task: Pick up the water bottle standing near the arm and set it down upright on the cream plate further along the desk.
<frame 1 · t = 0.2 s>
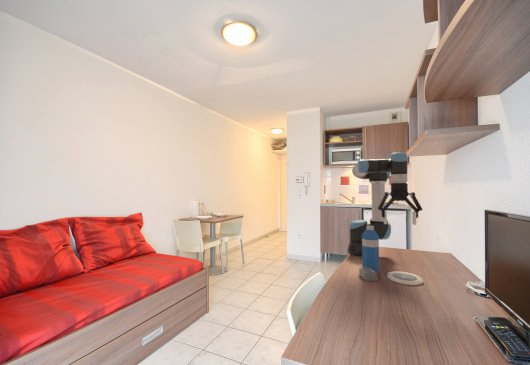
hand: (399, 224, 123), 28 cm above the table, fingers open, 13 cm apart
water bottle: (370, 270, 137), on the table
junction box: (367, 277, 125), on the table
cream plate: (404, 279, 123), on the table
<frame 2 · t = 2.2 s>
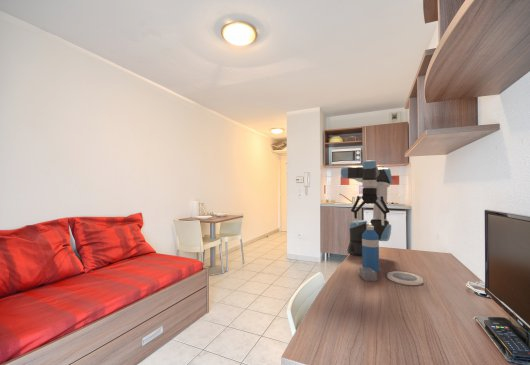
hand: (369, 224, 137), 26 cm above the table, fingers open, 13 cm apart
nothing on the table moved.
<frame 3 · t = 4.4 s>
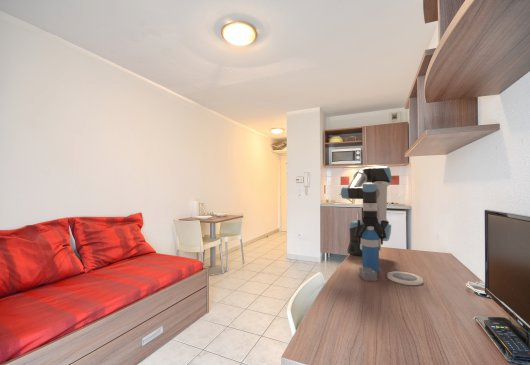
hand: (370, 249, 137), 12 cm above the table, fingers closed on water bottle, 9 cm apart
water bottle: (370, 270, 137), on the table, touching gripper
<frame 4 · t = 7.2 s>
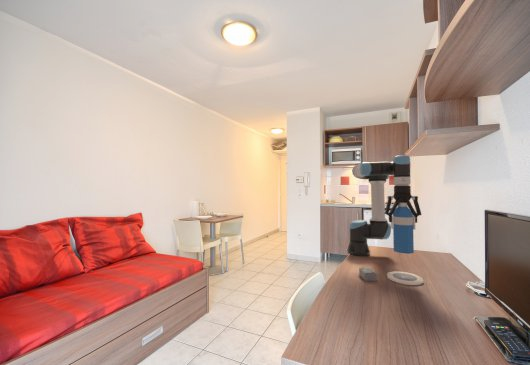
hand: (402, 228, 124), 26 cm above the table, fingers closed on water bottle, 9 cm apart
water bottle: (403, 251, 123), point 14 cm above the table, touching gripper
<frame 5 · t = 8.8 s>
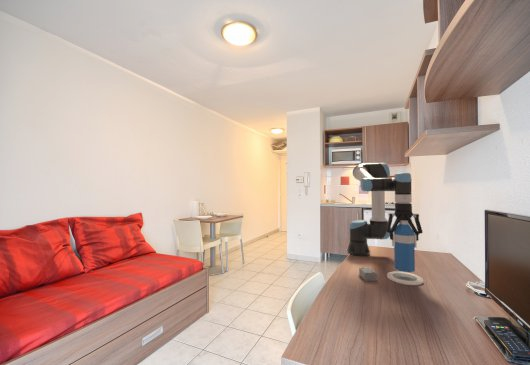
hand: (404, 246, 123), 17 cm above the table, fingers closed on water bottle, 9 cm apart
water bottle: (404, 269, 123), point 5 cm above the table, touching gripper
when the fingers open (14 cm above the table, at t = 10.3 s): water bottle drops 1 cm, resting on cream plate.
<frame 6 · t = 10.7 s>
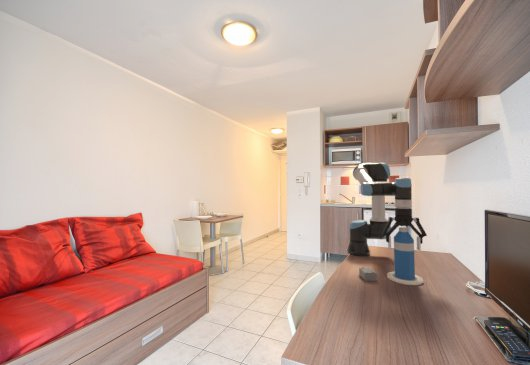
hand: (404, 249, 123), 15 cm above the table, fingers open, 13 cm apart
water bottle: (404, 276, 123), point 1 cm above the table, touching cream plate
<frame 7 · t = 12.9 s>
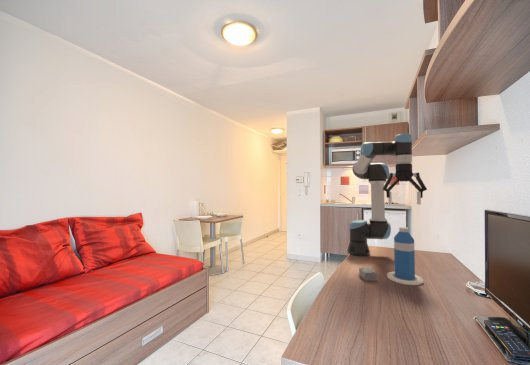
hand: (404, 204, 125), 38 cm above the table, fingers open, 13 cm apart
nothing on the table moved.
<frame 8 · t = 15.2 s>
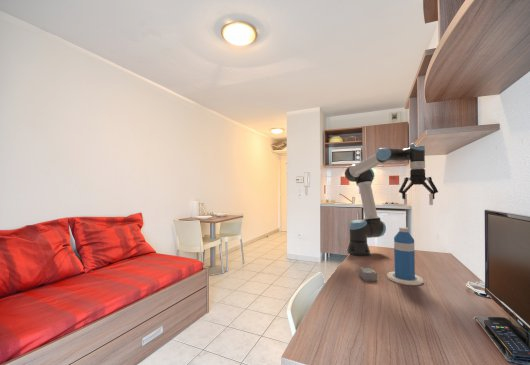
hand: (418, 204, 142), 37 cm above the table, fingers open, 13 cm apart
nothing on the table moved.
at the end: water bottle inside the target area on the cream plate (0.0 cm from its centre), point 1.1 cm above the cream plate's base; water bottle tilted 0°; the gripper is holding nothing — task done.
